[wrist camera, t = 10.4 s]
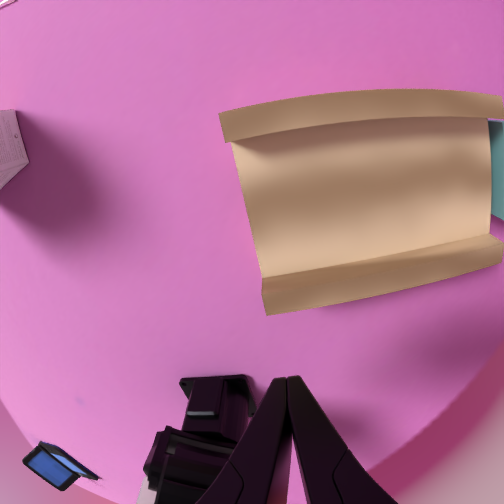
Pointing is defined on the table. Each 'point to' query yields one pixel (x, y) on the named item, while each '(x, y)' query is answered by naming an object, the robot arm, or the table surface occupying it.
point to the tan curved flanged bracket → (365, 191)
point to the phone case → (6, 0)
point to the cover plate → (497, 167)
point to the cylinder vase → (146, 494)
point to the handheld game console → (55, 466)
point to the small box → (10, 147)
